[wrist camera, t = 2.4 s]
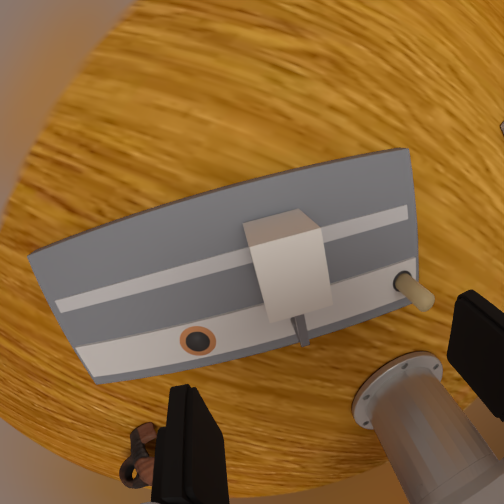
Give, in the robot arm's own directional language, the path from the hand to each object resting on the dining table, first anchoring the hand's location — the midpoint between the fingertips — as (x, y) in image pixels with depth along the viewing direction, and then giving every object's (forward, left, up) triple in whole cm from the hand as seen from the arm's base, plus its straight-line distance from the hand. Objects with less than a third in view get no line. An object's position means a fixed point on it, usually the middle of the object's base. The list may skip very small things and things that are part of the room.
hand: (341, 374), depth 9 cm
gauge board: (-3, +4, -16) cm, 16 cm away
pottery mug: (-23, +19, -16) cm, 33 cm away
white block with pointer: (-2, 0, -14) cm, 14 cm away
